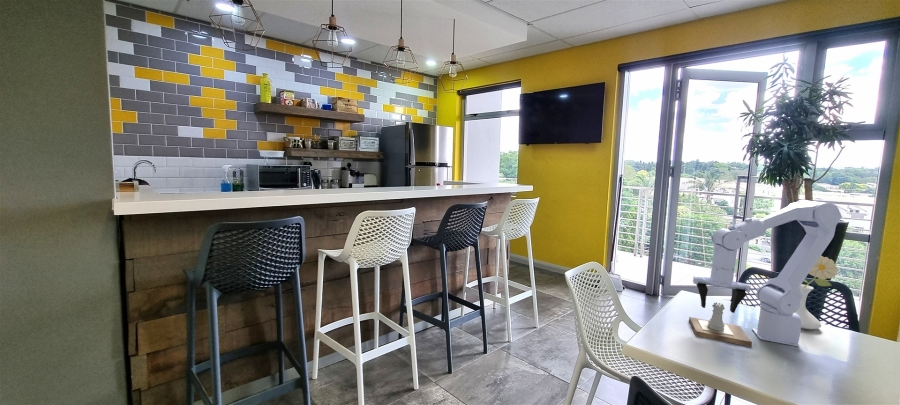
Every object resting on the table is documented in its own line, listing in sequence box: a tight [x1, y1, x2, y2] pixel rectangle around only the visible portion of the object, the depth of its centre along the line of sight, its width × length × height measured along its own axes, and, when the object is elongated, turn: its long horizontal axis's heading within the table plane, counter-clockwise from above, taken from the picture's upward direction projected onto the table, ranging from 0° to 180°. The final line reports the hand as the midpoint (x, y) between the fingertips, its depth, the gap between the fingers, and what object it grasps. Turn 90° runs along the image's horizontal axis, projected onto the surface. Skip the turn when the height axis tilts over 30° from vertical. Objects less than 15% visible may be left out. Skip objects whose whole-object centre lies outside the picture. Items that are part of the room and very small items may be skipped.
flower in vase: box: [795, 255, 839, 330], centre depth 125 cm, size 13×11×25 cm
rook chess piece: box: [708, 302, 725, 331], centre depth 117 cm, size 4×4×8 cm
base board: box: [688, 316, 753, 348], centre depth 118 cm, size 14×12×2 cm
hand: (717, 309), depth 118 cm, fingers open, 7 cm apart
